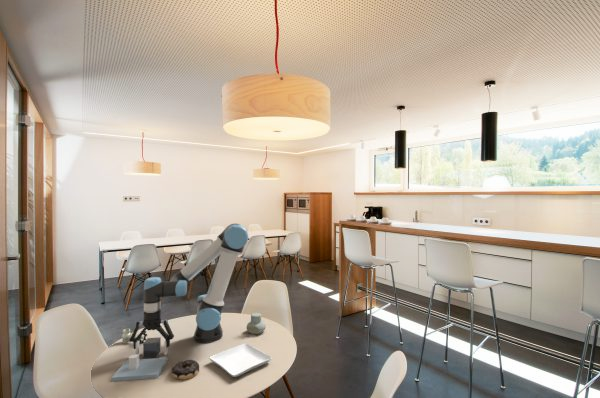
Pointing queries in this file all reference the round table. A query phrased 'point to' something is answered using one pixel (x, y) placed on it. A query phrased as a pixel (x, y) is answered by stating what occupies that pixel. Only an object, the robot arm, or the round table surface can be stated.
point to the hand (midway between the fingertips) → (151, 354)
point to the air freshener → (256, 324)
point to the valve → (127, 335)
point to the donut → (185, 369)
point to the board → (139, 368)
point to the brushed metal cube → (151, 347)
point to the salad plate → (240, 359)
